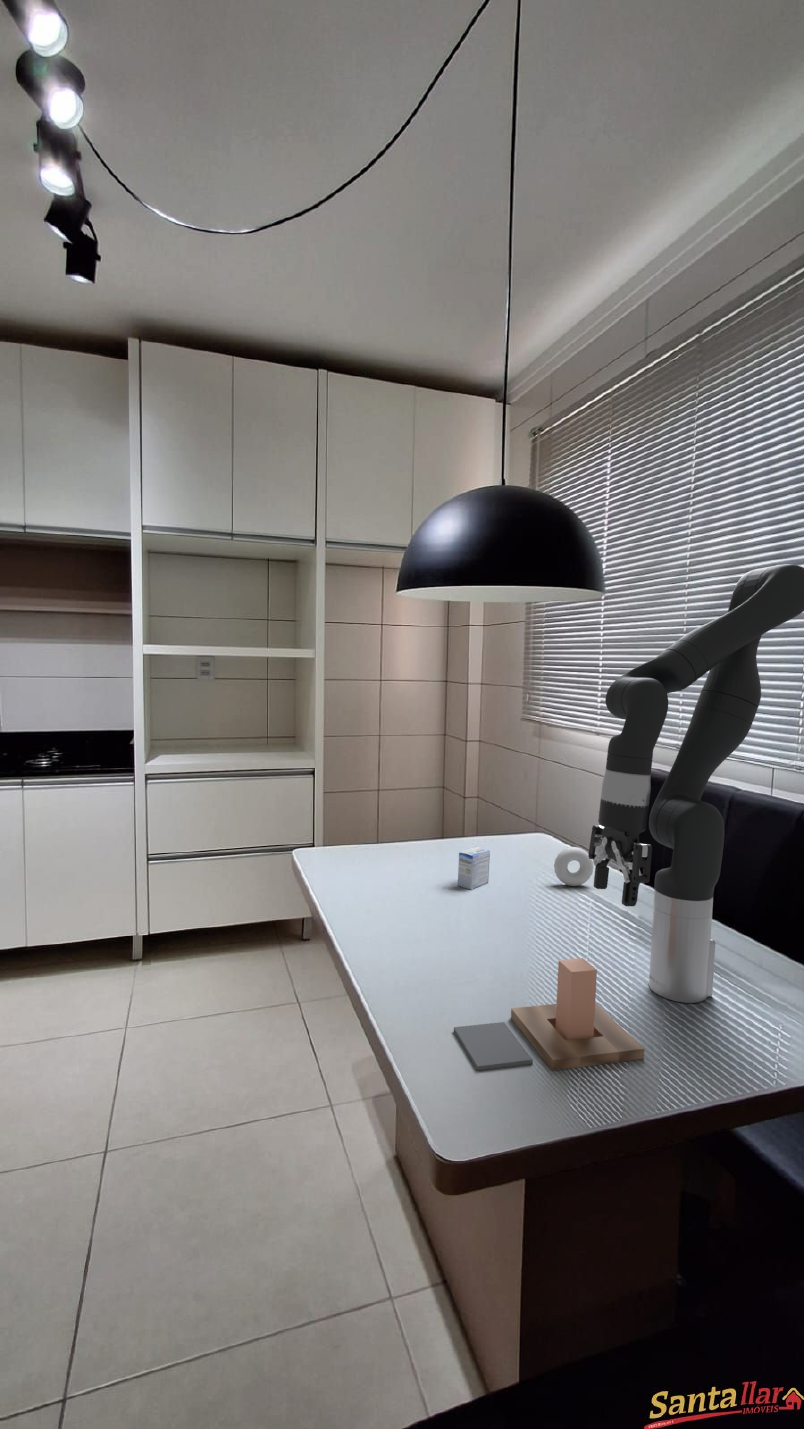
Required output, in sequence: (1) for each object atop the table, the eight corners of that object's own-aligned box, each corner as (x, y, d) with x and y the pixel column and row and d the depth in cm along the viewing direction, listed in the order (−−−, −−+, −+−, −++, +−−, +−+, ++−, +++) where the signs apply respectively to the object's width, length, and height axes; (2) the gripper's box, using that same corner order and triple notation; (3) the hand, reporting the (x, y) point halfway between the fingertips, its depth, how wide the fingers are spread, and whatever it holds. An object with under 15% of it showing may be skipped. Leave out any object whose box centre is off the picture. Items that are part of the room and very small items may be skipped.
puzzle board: (592, 1009, 107) (592, 1000, 107) (643, 1058, 93) (644, 1048, 93) (510, 1017, 104) (511, 1008, 103) (552, 1070, 90) (553, 1059, 90)
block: (579, 1028, 101) (582, 958, 100) (593, 1043, 97) (596, 969, 96) (555, 1031, 100) (558, 960, 99) (568, 1046, 96) (571, 972, 95)
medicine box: (474, 879, 173) (475, 846, 173) (489, 882, 170) (490, 849, 170) (457, 886, 167) (458, 852, 167) (472, 890, 164) (473, 855, 164)
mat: (503, 1025, 101) (504, 1021, 101) (532, 1063, 92) (532, 1059, 91) (453, 1031, 99) (453, 1027, 99) (477, 1070, 90) (477, 1066, 90)
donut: (590, 884, 172) (591, 845, 171) (594, 888, 168) (596, 849, 168) (551, 883, 172) (553, 844, 171) (555, 887, 168) (556, 848, 167)
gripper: (672, 809, 103) (660, 912, 104) (620, 792, 117) (610, 883, 118) (629, 807, 101) (617, 911, 102) (582, 790, 115) (572, 882, 116)
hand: (613, 896), depth 110 cm, fingers open, 8 cm apart
